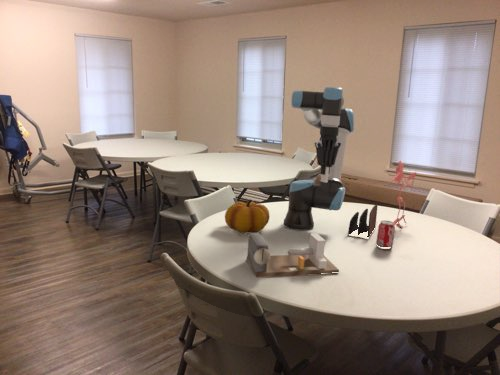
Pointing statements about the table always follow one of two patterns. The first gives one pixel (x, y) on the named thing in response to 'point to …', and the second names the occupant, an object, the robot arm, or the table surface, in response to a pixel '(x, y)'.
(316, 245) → the white stepped block
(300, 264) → the orange flat block
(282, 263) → the bench
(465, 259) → the table surface
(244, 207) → the decorative pumpkin
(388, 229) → the soda can
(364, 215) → the letter holder
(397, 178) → the figurine
